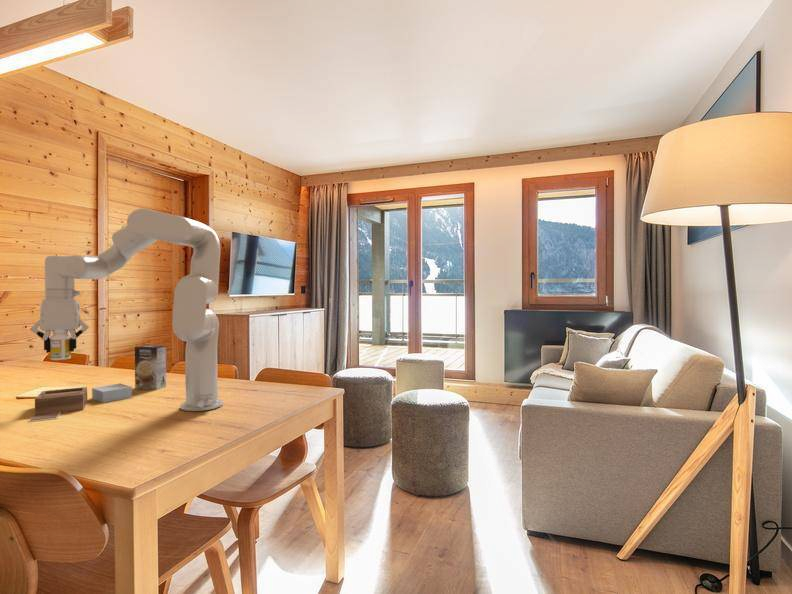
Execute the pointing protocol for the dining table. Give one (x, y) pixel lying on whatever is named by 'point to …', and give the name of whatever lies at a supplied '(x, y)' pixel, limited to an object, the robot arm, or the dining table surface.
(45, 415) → the swatch
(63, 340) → the supplement bottle
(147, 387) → the coffee box
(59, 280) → the robot arm
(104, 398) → the slate block
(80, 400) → the walnut tray
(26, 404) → the dining table surface
